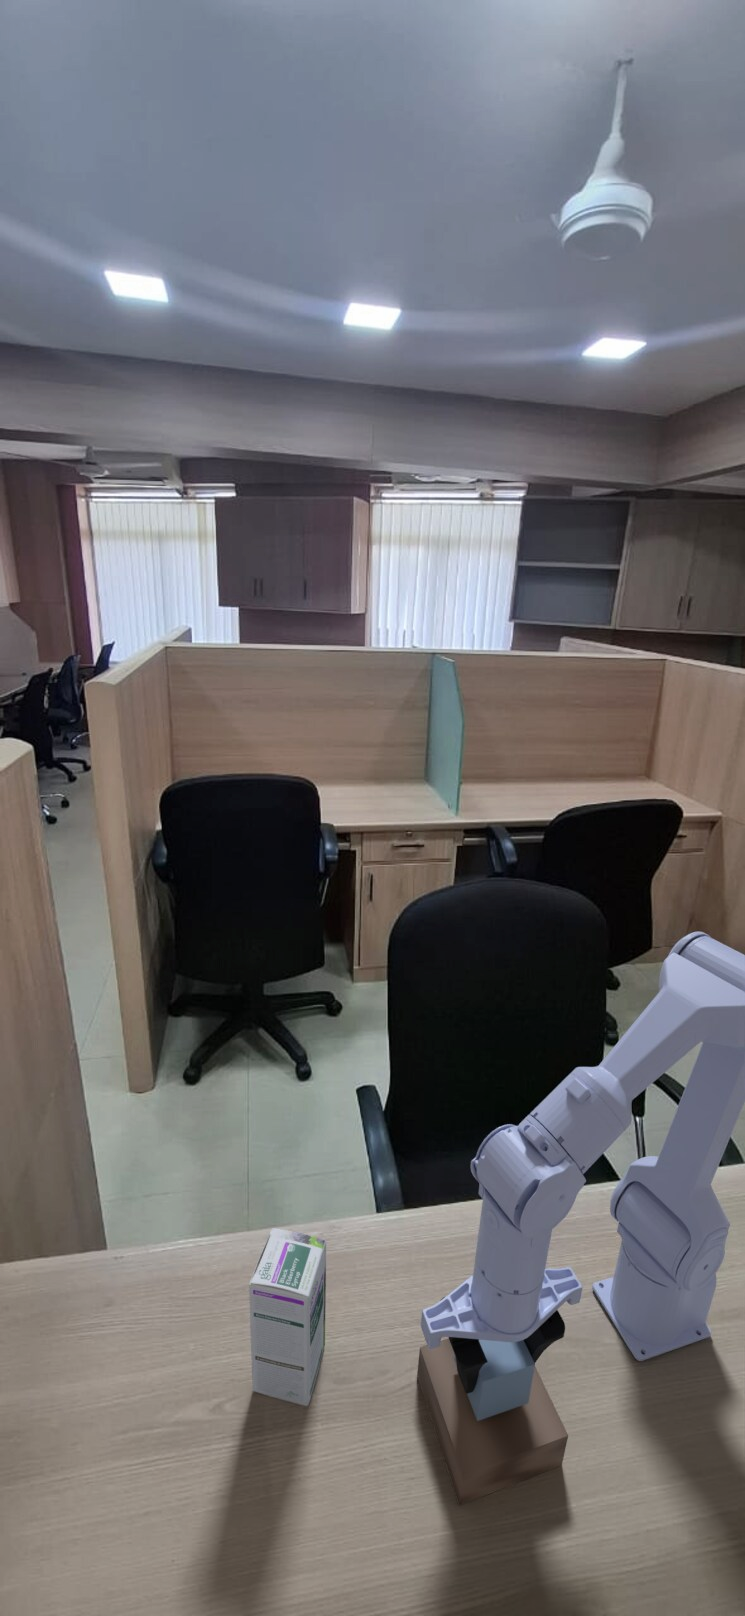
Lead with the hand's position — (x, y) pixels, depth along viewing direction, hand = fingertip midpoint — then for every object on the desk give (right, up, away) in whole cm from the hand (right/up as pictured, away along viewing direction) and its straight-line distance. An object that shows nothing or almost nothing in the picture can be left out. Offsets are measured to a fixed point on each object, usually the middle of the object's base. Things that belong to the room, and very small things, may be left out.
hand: (493, 1371), depth 59 cm
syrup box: (-19, -4, +5) cm, 20 cm away
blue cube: (0, -1, +1) cm, 2 cm away
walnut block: (0, -6, +2) cm, 6 cm away
